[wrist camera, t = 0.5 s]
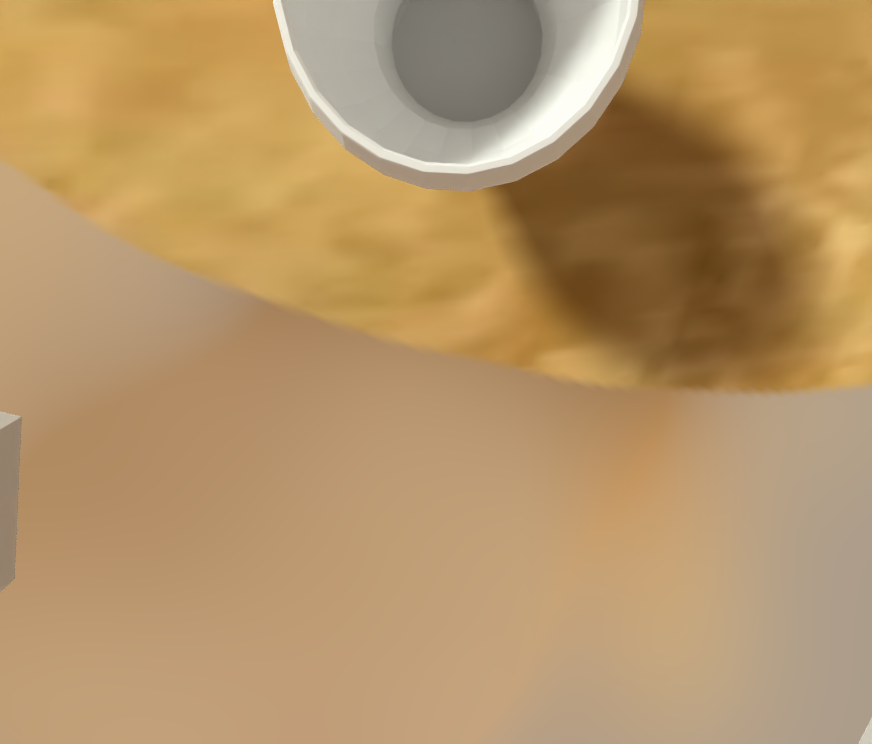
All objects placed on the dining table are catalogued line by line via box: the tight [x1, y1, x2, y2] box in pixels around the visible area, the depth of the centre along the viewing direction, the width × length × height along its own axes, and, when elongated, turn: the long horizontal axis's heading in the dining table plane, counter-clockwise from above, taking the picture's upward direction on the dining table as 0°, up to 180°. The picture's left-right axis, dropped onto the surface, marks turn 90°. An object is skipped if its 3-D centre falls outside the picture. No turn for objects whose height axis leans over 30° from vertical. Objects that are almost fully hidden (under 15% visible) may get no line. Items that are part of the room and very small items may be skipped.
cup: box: [273, 0, 645, 191], centre depth 26 cm, size 11×11×15 cm
